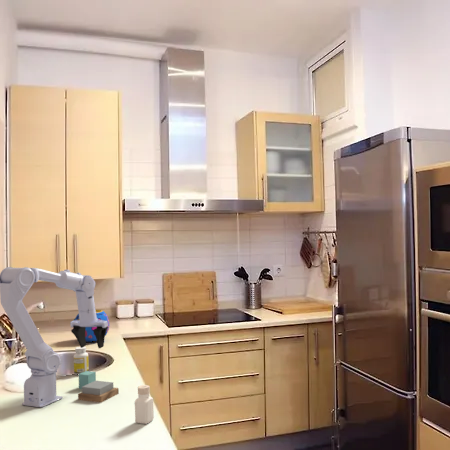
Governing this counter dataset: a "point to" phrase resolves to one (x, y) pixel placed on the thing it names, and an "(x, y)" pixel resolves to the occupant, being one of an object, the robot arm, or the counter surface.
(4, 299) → the robot arm
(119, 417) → the counter surface
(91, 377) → the teal block
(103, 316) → the ceramic pot
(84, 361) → the supplement bottle
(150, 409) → the white square bottle
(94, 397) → the walnut block
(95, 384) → the slate-grey block
